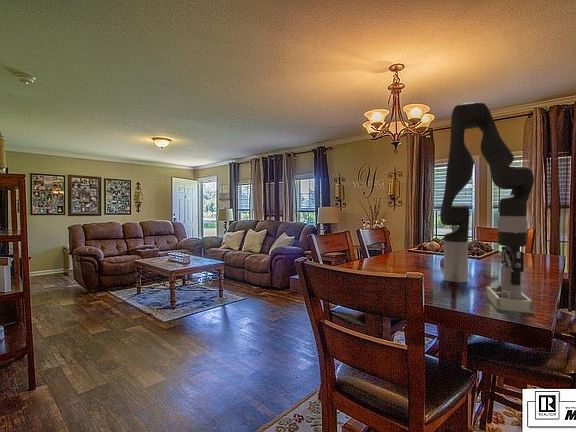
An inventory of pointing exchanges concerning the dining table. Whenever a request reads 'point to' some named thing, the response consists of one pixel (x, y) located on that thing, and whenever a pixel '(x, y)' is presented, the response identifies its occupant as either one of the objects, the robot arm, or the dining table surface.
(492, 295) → the caddy
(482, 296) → the dining table surface
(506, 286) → the energy drink
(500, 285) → the walnut ball
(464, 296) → the dining table surface
